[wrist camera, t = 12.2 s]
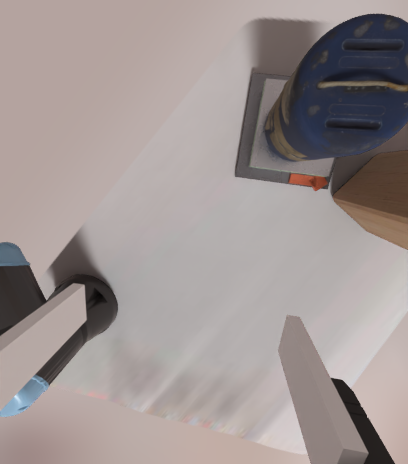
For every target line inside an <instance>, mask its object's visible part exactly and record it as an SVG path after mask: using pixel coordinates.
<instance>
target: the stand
mask: <svg viewBox="0 0 408 464" xmlns="http://www.w3.org/2000/svg"><path fill="white" fill-rule="evenodd" d="M290 78H291V77H290V76H279V75H269V74H258V73H253V74H252V80H251V86H250V92H249V98H248V104H247V110H246V116H245V122H244V128H243V134H242V140H241V146H240V152H239V158H238V164H237V169H236V175H235V177H242V178H249V179H256V180H264V181H271V182H278V183H285V184H292V185H300V186H307V187H312V188H313V189H314V191H317V190H319V189H320V188H321V189H328V186H329V182H330V179H331V176H332V172H333V169H334V165H335V162H336V159H337V157H335V158H326V159H318V160H311V161H301V162H291V161H287V160H283V159H281V158H279V157H278V156H277V155H275V154H274V153H273V152H272V150H271V149H270V147H269V146H268V144H267V141H266V137H265V124H266V120H267V116H268V114H269V112H270V110H271V108H272V106H273V105H274V103H275V102H276V100H277V99H278V97H279V95H280V93H281V92H282V90H283V88H284V85H285V83H286V82H287V81H288V80H289V79H290Z"/></svg>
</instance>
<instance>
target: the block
mask: <svg viewBox="0 0 408 464" xmlns="http://www.w3.org/2000/svg"><path fill="white" fill-rule="evenodd" d="M333 200H334V202H335V203H336V204H337V205H338V206H340V207H341V208H342V209H343V210H344V211H345V212H346V213H347V214H348V215H349V216H350V217H352V218H353V219H354V220H355V221H356V222H357V223H358V224H359V225H360V226H361V227H362V228H364V229H365V230H366V231H367V232H369V233H372V234H374V235H376V236H378V237H380V238H383V239H385V240H387V241H389V242H391V243H394V244H396V245H398V246H400V247H402V248H405V249H407V250H408V150H404V151H396V152H387V153H380V154H378V155H376V156H374V157H373V158H372V159H371V160H370V161H369V162H368V163H367V164H366V165H365V166H364V167H363V168H362V169H360V170H359V171H358V172H357V173H356V174H355V175H354V176H353V177H352V178H351V179H350V180H349V181H348V182H347V183H346V184H345V185H343V186H342V187H341V188H340V189H339V190H338V191H337V192H336V193H335V194H334V196H333Z"/></svg>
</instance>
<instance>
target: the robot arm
mask: <svg viewBox="0 0 408 464" xmlns="http://www.w3.org/2000/svg"><path fill="white" fill-rule="evenodd" d="M29 265H30V263H29V262H27V261H26V259H25V257H24V255H23V254H22V252H21V250H20V248H19V247H18V246H17V245H15V244H13V243H9V242H2V243H0V416H1V417H5V416H13V415H16V414H19V413H21V412H23V411H24V410H26V409H27V408H28V407H30V405H31V404H32V403H33V402H34V401H35V400H36V399H37V398H38V397H39V396H40V395H41V394H42V393H43V392H45V390H47V389H48V387H49V385H50V384H51V383H52V381H53V380H54V379H55V378H56V377H57V376H58V374H59V373H60V372H61V371H62V370H63V369H64V367H65V366H66V365H67V364H68V363H69V362H70V360H71V359H72V358H73V357H74V356H75V355H76V353H77V352H78V351H79V350H80V349H81V347H82V346H83V345H84V344H85V343H86V342H87V341H89V340H90V339H92V338H93V337H95V336H96V335H98V334H100V333H102V332H104V331H105V330H106V329H107V328H108V327H109V326H110V325H111V324H112V322H113V321H114V320H115V318H116V316H117V311H118V307H117V301H116V298H115V296H114V294H113V293H112V291H111V290H110V289H109V287H108V286H107V285H105V284H104V283H103V282H102V281H100V280H98V279H97V278H94V277H92V276H88V275H75V276H72V277H70V278H68V279H66V280H65V281H63V282H62V283H61V284H59V285H58V286H57V288H56V289H55V290H54V292H53V293H52V294H51V296H50V297H49V298H48V300H47V301H46V299H45V297H44V295H43V293H42V291H41V289H40V287H39V285H38V283H37V281H36V279H35V277H34V274H33V272H32V270H31V268H30V266H29ZM278 352H279V356H280V359H281V363H282V366H283V370H284V373H285V376H286V380H287V383H288V387H289V390H290V394H291V397H292V401H293V404H294V408H295V411H296V414H297V418H298V421H299V425H300V428H301V432H302V435H303V439H304V442H305V446H306V449H307V452H308V456H309V459H310V463H311V464H395V463H394V461H393V460H392V458H391V456H390V454H389V453H388V451H387V449H386V448H385V446H384V444H383V442H382V441H381V439H380V437H379V435H378V434H377V432H376V430H375V429H374V427H373V425H372V423H371V422H370V420H369V418H367V415H366V413H365V411H364V410H363V408H362V407H361V405H360V403H359V401H358V399H357V397H356V396H355V394H354V392H353V391H352V390H351V389H350V388H349V387H348V385H347V384H346V383H345V382H344V381H343V380H340V379H334V378H330V376H329V374H328V372H327V370H326V368H325V366H324V364H323V362H322V360H321V358H320V356H319V354H318V352H317V350H316V348H315V346H314V344H313V342H312V340H311V338H310V336H309V335H308V333H307V331H306V329H305V327H304V325H303V323H302V321H301V319H300V317H297V316H290V315H287V317H286V321H285V325H284V329H283V333H282V337H281V341H280V345H279V349H278Z"/></svg>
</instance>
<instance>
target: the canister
mask: <svg viewBox="0 0 408 464" xmlns="http://www.w3.org/2000/svg"><path fill="white" fill-rule="evenodd" d="M407 122H408V23H407V22H406V21H404V20H402V19H401V18H398V17H394V16H391V15H385V14H367V15H362V16H358V17H355V18H352V19H350V20H347V21H345V22H343V23H341V24H339V25H337V26H336V27H334V28H333V29H331V30H330V31H328V32H327V33H326V34H325V35H324V36H322V37H321V38H320V39H319V40H318V41H317V42H316V43H315V44H314V45H313V47H312V48H311V49H310V50H309V51H308V53H307V54H306V55H305V57H304V58H303V60H302V61H301V63H300V64H299V66H298V67H297V69H296V70H295V72H294V73H293V75H292V76H291V78H290V79H289V80H288V81H287V82H286V83H285V85H284V88H283V90H282V92H281V93H280V95H279V97H278V99H277V100H276V102H275V103H274V105H273V106H272V108H271V110H270V112H269V114H268V116H267V120H266V124H265V137H266V141H267V144H268V146H269V147H270V149H271V150H272V152H273V153H274V154H275V155H277V156H278V157H279V158H281V159H283V160H287V161H291V162H301V161H311V160H318V159H326V158H335V157H343V156H349V155H356V154H360V153H363V152H366V151H369V150H371V149H373V148H375V147H377V146H379V145H381V144H383V143H384V142H386V141H387V140H389V139H390V138H391V137H393V136H394V135H395V134H396V133H397V132H398V131H400V130H401V129H402V127H403V126H404V125H405V124H406V123H407Z"/></svg>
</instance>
